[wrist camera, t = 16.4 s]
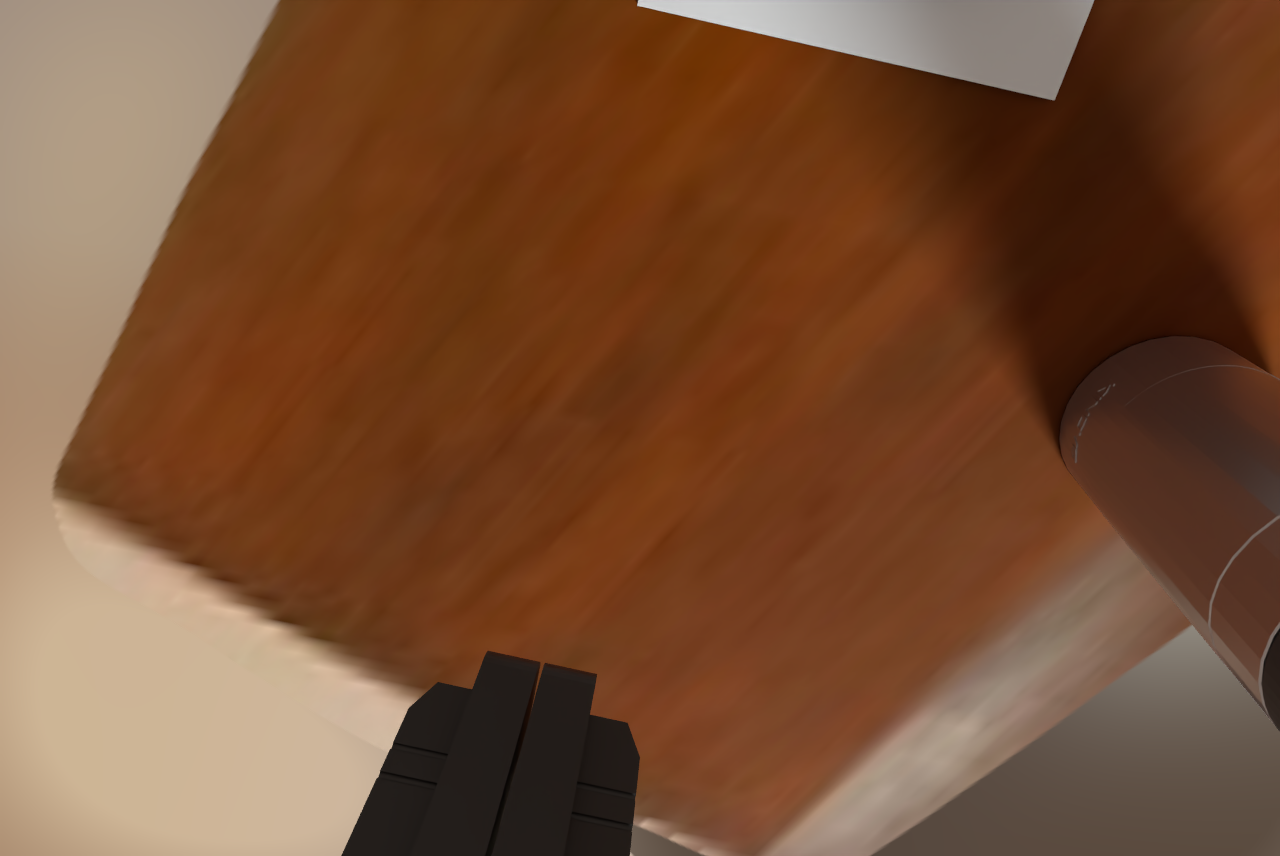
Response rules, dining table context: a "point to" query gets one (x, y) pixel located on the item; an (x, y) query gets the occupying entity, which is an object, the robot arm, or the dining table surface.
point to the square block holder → (921, 33)
